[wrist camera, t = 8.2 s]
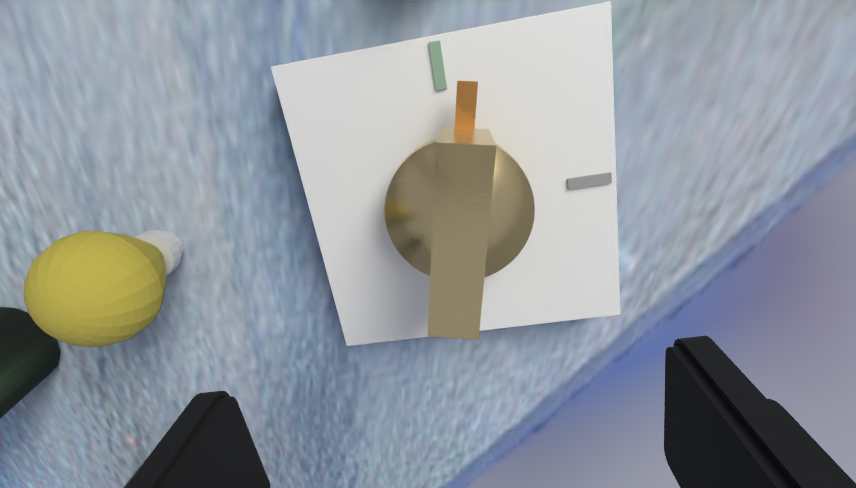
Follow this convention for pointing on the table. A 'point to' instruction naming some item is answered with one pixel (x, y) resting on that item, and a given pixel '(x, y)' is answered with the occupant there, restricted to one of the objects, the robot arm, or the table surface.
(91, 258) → the light bulb
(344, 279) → the base plate
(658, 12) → the table surface
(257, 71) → the table surface
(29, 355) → the potion bottle
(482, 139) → the knob
